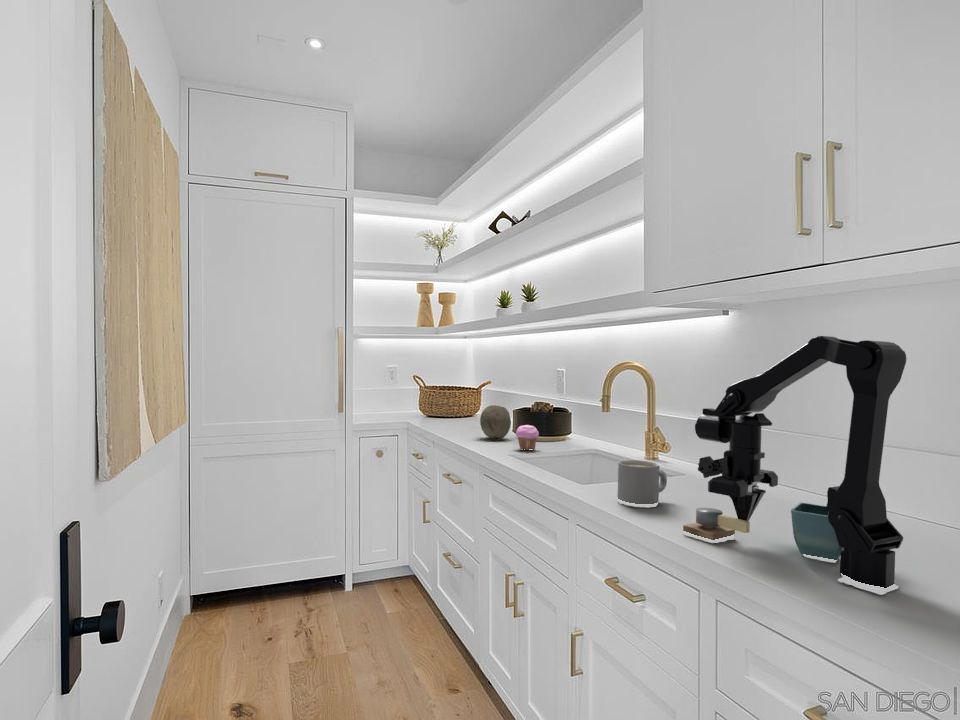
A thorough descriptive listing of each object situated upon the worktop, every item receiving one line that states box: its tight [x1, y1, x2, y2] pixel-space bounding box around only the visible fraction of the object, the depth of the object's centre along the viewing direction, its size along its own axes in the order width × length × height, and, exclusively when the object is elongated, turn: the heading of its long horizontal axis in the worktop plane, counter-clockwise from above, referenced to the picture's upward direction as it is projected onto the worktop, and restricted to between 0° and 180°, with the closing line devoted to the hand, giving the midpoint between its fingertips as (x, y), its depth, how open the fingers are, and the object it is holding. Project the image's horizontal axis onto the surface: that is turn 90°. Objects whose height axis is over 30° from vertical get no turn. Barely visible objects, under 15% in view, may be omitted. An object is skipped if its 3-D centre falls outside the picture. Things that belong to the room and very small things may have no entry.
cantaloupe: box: [479, 405, 512, 441], centre depth 252 cm, size 14×14×15 cm
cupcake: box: [515, 424, 540, 451], centre depth 224 cm, size 9×9×10 cm
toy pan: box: [695, 507, 751, 534], centre depth 114 cm, size 11×5×2 cm, turn 32°
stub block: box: [682, 522, 736, 540], centre depth 117 cm, size 7×7×3 cm
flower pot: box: [790, 502, 844, 561], centre depth 106 cm, size 9×9×9 cm
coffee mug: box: [616, 459, 668, 504], centre depth 144 cm, size 13×10×10 cm
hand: (743, 525), depth 114 cm, fingers closed
